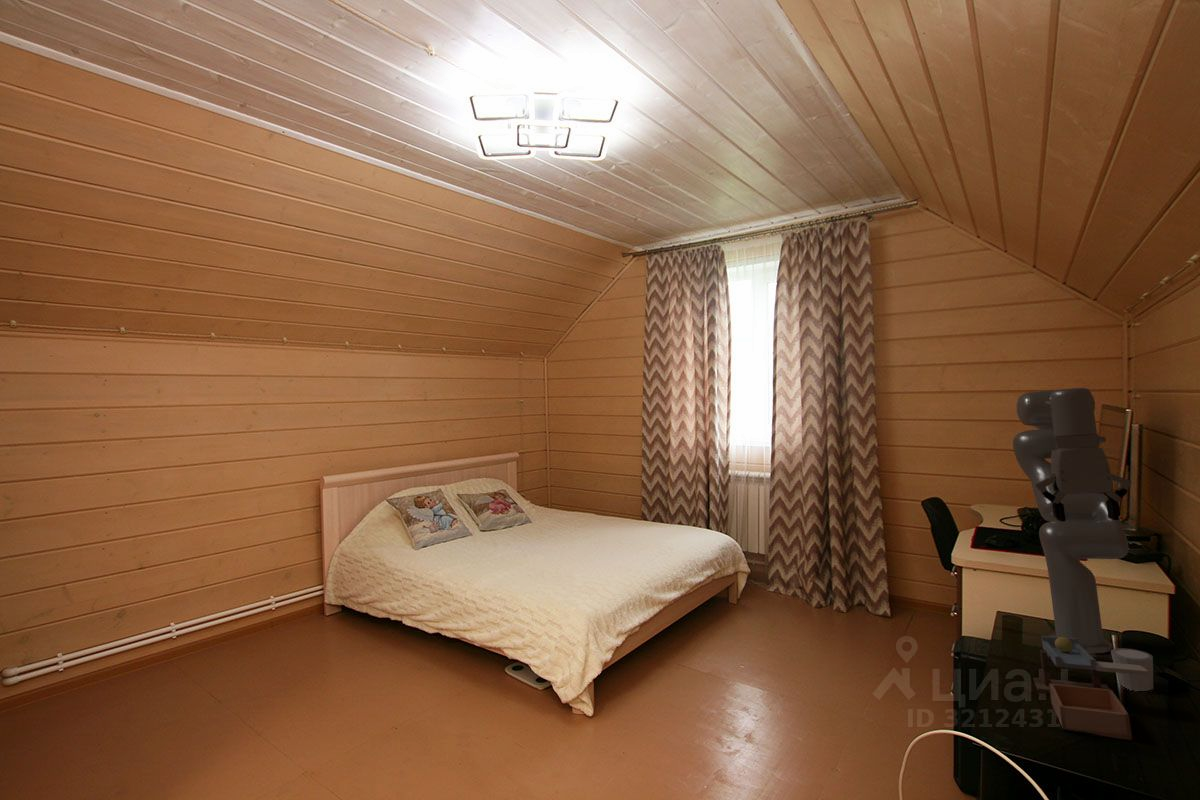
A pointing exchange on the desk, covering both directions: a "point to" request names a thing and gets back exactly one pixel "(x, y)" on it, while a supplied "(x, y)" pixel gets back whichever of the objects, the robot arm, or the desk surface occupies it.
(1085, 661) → the grey piece
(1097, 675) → the stand
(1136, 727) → the desk surface
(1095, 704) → the pink open box
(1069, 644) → the ball
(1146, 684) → the light grey cylinder
